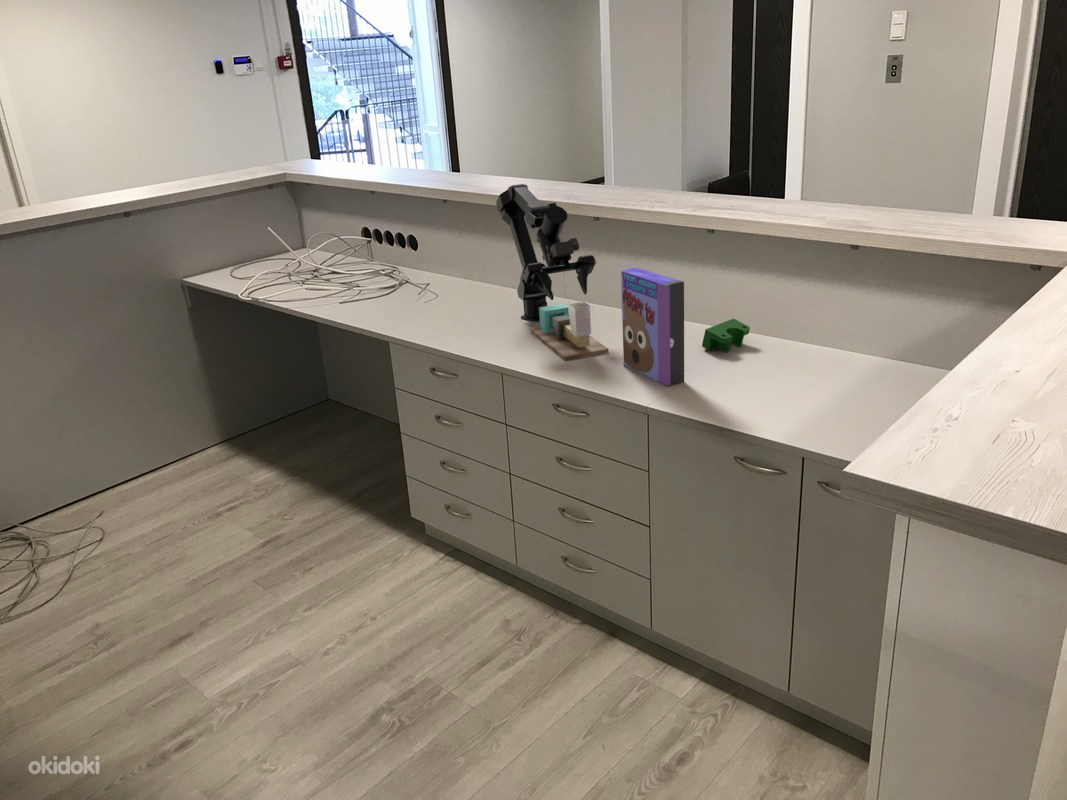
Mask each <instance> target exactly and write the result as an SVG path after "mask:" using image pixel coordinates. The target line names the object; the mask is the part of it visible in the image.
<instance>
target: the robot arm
mask: <svg viewBox="0 0 1067 800" xmlns="http://www.w3.org/2000/svg"><path fill="white" fill-rule="evenodd" d="M496 210H497V211H498V212H499V215H500V217H501V219H502V221H504V222H505V223H506V224H507V225H508V226H509V227H510V230H511V234H512V238H513V241H514V244H515V249H516V251H517V255H518V258H519V262H520V263H521V266H522V267H521V269H522V270H521V274H520V277H519V284H518V287H517V290H516V291H517V292H516V293H517V297H518V298H519V299H520V300H522V302H523V303H522V304H523V315H521V316H520V318H521V319H523V320H529V321H534V322H540V314H539V308H540V307H546V306H548V302H547V298H549V300H551V301H553V300H554V298H555V297H554V294H553V291H552V285H553V281H552V278H551V276H550V275H551V274H558V273H564V272H571V271H575V273H576V274H577V276H576V278H577V281H578V283H579V287H580V289H581V290H582V293H583V294H584V296H585V295H587V293H588V276H589V275H590V274H592V272H593V271H594V268H595V266H596V264H597V260H596V258H595V256H594V255H592V254H587V255H579V256H578V258H577V260H576V261H575V262H570V261H571V259H572V256H571V255H574V254H575V252H577V251H579V250H580V244H579V240H578V237H572V238H569V239H568V240H567V241H562V240H561V237H560V235H561V234H562V233H563V231H564V228H565V225H566V223H567V221H568V215H569V214H568V212H567V211H566V210H565V209H564V208H563V207H561V206H560V205H559V206H558V205H557V203H556V202H550V203H549V202H544V201H540V200H539V199H538V198H537V197H536V196H535V195H534V194H533V193H532V192H531V191H530V190H529V187H528V185H527V184H524V183H519V184H518V183H517V184H512V185H510V186H509V187H507V189H506V190H504V191H503V192H501V193H500V194H499V196H498V197H497V199H496ZM528 226H529V227H530V229H537V232H536V242H537V243H539V247H540V250H541V252H542V253H541V254H542V256H541V257H542V260H543V261H545V264H544V263H543V262H539V261H538V259H537V258H538V257H537V255H536V252H535V248H534V246H533V241H532V239H531V236H530V232H529V229H528ZM538 228H539V229H538Z"/></svg>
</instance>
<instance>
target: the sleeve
mask: <svg viewBox="0 0 1067 800" xmlns="http://www.w3.org/2000/svg"><path fill="white" fill-rule="evenodd" d="M568 322H570V313H569V315H563V316H557V317H553V333H554V337H555V338H556V339H558V340H559V341H560V340H566V339H567V338H565V337H564V336H563V335H562V333H561V324H562V323H568Z"/></svg>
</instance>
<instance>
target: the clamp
mask: <svg viewBox="0 0 1067 800" xmlns="http://www.w3.org/2000/svg"><path fill="white" fill-rule="evenodd" d="M750 330H751V327H750V326H749V325H747V324H745V323H743V322H741V321H739V320H737V319H735V318H731V319H728V320H726V321H724V322H723V321H722V322H721V323H719V324H715V325H714V326H713V325H712V326H711V327H708V328H706V329H705V331H704V334H703V337H702V338H703V340H702V343H701V346H702V348H704V349H705V350H707V351H709V352H712V351H713V350H716V349H719V350H722V351H724V352H725V353H729V352H730V348H731V345H735V346H737V347H738V348H741V347H742V345H743V342H744V339H745V336H747V335H749V334H750Z"/></svg>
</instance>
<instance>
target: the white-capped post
mask: <svg viewBox="0 0 1067 800" xmlns="http://www.w3.org/2000/svg"><path fill="white" fill-rule="evenodd" d="M568 308H569V314H570V322H568V323H562V324H561V333H562V335H563V336H564V337H565V338H567V339H568V340H569V341H571V342H572V343H573V344H575V345H576V346H577V347H579V348H580V347H585V346H590V340H589V335H592V325H591V306H590V304H588V303H586V302H585V301H580V302H575V303H569V304H568Z"/></svg>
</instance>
